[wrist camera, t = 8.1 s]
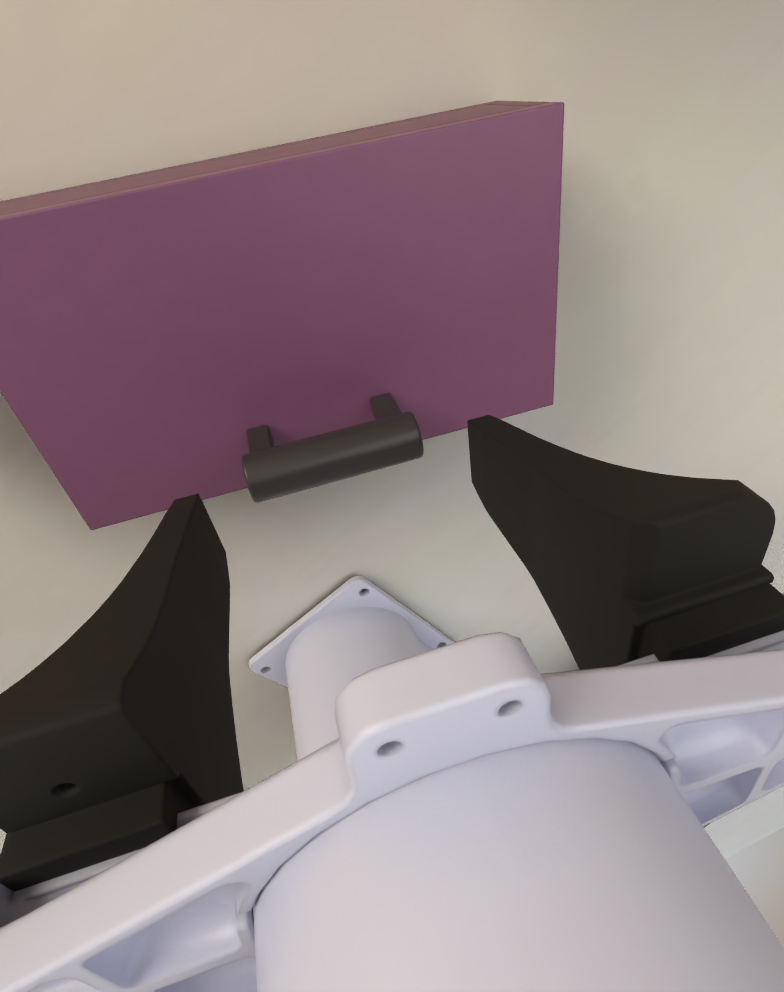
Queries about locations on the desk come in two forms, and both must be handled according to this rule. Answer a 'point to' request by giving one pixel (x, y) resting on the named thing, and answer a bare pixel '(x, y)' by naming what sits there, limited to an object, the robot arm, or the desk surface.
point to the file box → (257, 156)
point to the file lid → (285, 314)
